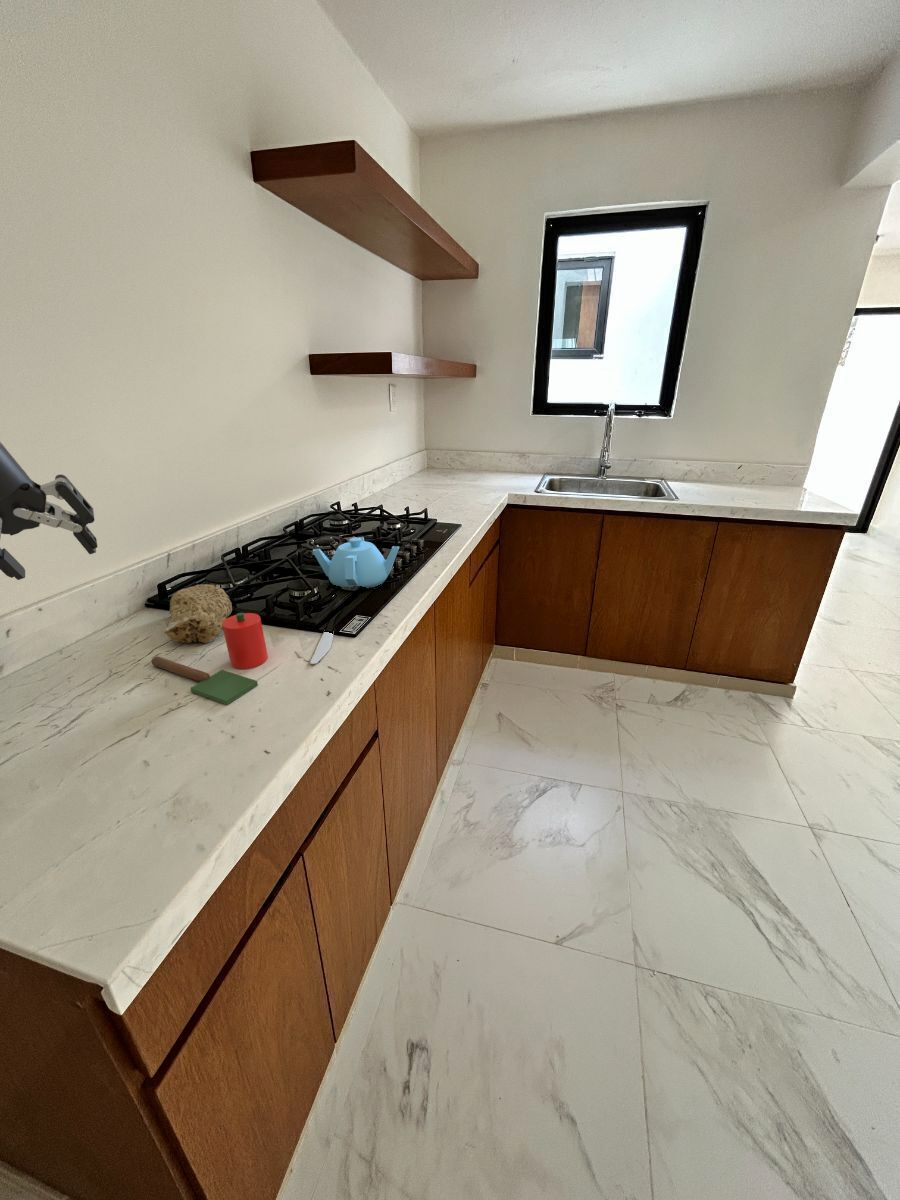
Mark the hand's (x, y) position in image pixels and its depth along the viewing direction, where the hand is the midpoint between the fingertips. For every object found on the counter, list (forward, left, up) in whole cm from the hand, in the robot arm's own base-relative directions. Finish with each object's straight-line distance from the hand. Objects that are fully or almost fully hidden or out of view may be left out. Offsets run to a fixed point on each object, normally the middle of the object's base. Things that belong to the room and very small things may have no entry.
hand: (58, 562), depth 65 cm
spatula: (+5, +11, -23) cm, 26 cm away
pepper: (+9, +19, -23) cm, 31 cm away
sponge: (-11, +25, -23) cm, 36 cm away
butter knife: (+14, +34, -23) cm, 43 cm away
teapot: (+4, +57, -23) cm, 61 cm away
